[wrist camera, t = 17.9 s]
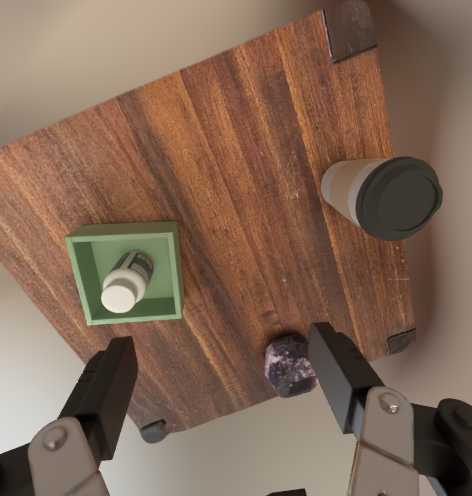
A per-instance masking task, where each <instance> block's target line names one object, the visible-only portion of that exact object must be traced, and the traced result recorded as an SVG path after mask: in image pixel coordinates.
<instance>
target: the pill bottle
mask: <svg viewBox="0 0 472 496" xmlns="http://www.w3.org/2000/svg"><path fill="white" fill-rule="evenodd" d="M153 272H154V263H153V260H152V259H151V258H150V256H149V255H147V254H146V253H144V252H141V251H129V252H127V253H125V254H124V255H122V257H121V258H120V259H119V260H118V262H117V263H116V264H115V266H114V267H113V269H112V270H111V271H110V273H109V274H108V275H107V276H106V278H105V280H104V284H103V289H104V291H103V293H102V296H101V300H102V303H103V305H104V306H105V307H106V308H107V309H108V310H110V311H112V312H115V313H124V312H127V311H129V310H130V309H131V308H132V307H133V306H134V304H135V303H137V302H138V301H140V300H141V299H142V298H143V296H144V294H145V292H146V290H147V287H148V285H149V282H150V280H151V277H152V275H153Z"/></svg>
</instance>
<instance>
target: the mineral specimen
mask: <svg viewBox="0 0 472 496" xmlns="http://www.w3.org/2000/svg"><path fill="white" fill-rule="evenodd" d="M264 372H265V375H266V377H267V378H268V380H269V381H270V383H271V384H272V386H273V387H274V389H275V390H276V392H277V393H278V395H279V396H280V397H281V398H289V397H293V396H297V395H300V394H303V393H307V392H310V391H312V390H313V389H314V388H315V387H316V385H317V383H318V379H317V377H316V375H315V373H314V371H313V368H312V366H311V364H310V361H309V358H308V341H307V339H306V338H305V337H303V336H302V335H300V334H294V335H290V336H286V337H283V338H279V339H276V340H274V341H273V342H272V343H271V344H270V345H269V346H268V347H267V349H266V354H265V363H264Z"/></svg>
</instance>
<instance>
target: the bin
mask: <svg viewBox="0 0 472 496" xmlns="http://www.w3.org/2000/svg"><path fill="white" fill-rule="evenodd" d="M65 241H66V245H67V248H68V252H69V256H70V260H71V264H72V268H73V271H74V275H75V279H76V283H77V287H78V290H79V294H80V298H81V302H82V306H83V309H84V313H85V317H86V321H87V325H95V324H109V323H123V322H137V321H151V320H165V319H176V318H177V319H180V318H182V314H183V307H184V300H185V296H184V286H183V275H182V265H181V255H180V245H179V234H178V224H177V221H164V222H139V223H114V224H89V225H82V226H81V227H79V228H78V229H76V230H75V231H73V232H72V233H70V234H69V235H67V236H65ZM129 251H141V252H144V253H146V254H147V255H149V256H150V258H151V259H152V260H153V263H154V272H153V275H152V277H151V280H150V282H149V285H148V287H147V290H146V292H145V294H144V296H143V298H142V299H141V300H140V301H138V302H137V303H135V304H134V306H133V307H132V308H131V309H130V310H129V311H127V312H124V313H115V312H112V311H110V310H108V309H107V308H106V307H105V306H104V305H103V303H102V300H101V296H102V293H103V291H104V289H103V284H104V280H105V278H106V276H107V275H108V274H109V273H110V271H111V270H112V269H113V267H114V266H115V264H116V263H117V262H118V260H119V259H120V258H121V257H122V255H124V254H125V253H127V252H129Z"/></svg>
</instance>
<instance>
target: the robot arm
mask: <svg viewBox="0 0 472 496" xmlns="http://www.w3.org/2000/svg"><path fill="white" fill-rule="evenodd" d="M308 358H309V361H310V364H311V366H312V368H313V371H314V373H315V375H316V377H317V379H318V381H319V383H320V385H321V388H322V390H323V392H324V394H325V396H326V398H327V400H328V403H329V405H330V407H331V409H332V411H333V413H334V415H335V418H336V420H337V422H338V424H339V426H340V428H341V430H342V432H343V434H349V433H354V435H355V437H356V439H357V444H356V449H355V454H354V459H353V465H352V470H351V475H350V481H349V486H348V491H347V496H419V474H421V475H425V476H426V477H427V479H428V481H429V482H430V484H431V486H432V487H433V489H434V491H435V492H436V494H437V496H472V406H471V405H469V404H467V403H465V402H463V401H460V400H457V399H451V398H448V399H443V400H441V401H440V402H439V405H438V407H437V408H433V407H428V406H422V405H417V404H413V403H410V402H409V401H408V400H407V399H406V397H404V396H403V395H402V394H401V393H399V392H398V391H396V390H394V389H392V388H389V387H386V386H385V385H384V383H383V382H382V381H381V379H380V378H379V377H378V375H377V374H376V372H375V371H374V370H373V368H372V367H371V366H370V364H369V363H368V362H367V360H366V359H365V358H364V357H363V355H362V353H361V352H360V351H359V350H358V348H357V347H356V345H355V344H354V343H353V341H352V340H351V339H350V338H349V337H347V336H346V335H344V334H343V333H342V332H337V333H336V332H335V330H334V329H333V327H332V326H331V324H330V323H329V322H317V323H311V325H310V332H309V342H308ZM137 374H138V363H137V357H136V352H135V347H134V342H133V338H132V336H126V337H113V338H112V339H111V341H110V343H109V345H108V347H107V349H106V350H105V351H99V352H98V353H97V354H95V355H94V356H93V357H92V358H91V359H90V360H89V362H88V363H87V365H86V367H85V369H84V371H83V374H81V376H80V378H79V380H78V383H77V384H76V385H75V387H74V389H73V391H72V393H71V395H70V396H69V398H68V400H67V402H66V404H65V406H64V408H63V409H62V411H61V413H60V415H59V417H58V418H57V420H54V421H53V422H51V423H49V424H47V425H46V426H45V427H43V428H42V429H41V430H40V431H39V432H38V433H37V434H36V435H35V436H34V438H33V439H32V441H31V442H30V443H28V444H25V445H23V446H20V447H18V448H15V449H12V450H10V451H7V452H4V453H2V454H0V496H110V494H109V492H108V489H107V487H106V484H105V482H104V480H103V477H102V475H101V472H100V471H99V470H98V469H99V466H100V463H101V461H105V460H112V459H113V455H114V452H115V449H116V446H117V442H118V439H119V435H120V432H121V429H122V426H123V422H124V419H125V416H126V412H127V409H128V406H129V402H130V399H131V396H132V392H133V389H134V386H135V382H136V379H137ZM267 496H307V495H306V491H305V489H297V490H289V491H282V492H274V493H271V494H269V495H267Z"/></svg>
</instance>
